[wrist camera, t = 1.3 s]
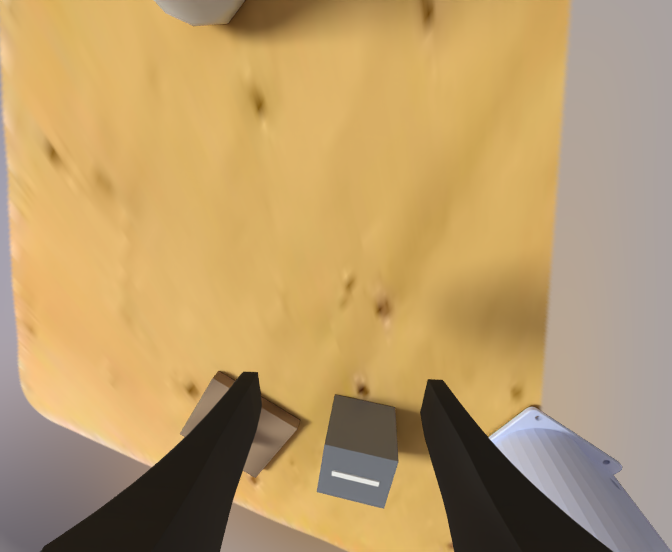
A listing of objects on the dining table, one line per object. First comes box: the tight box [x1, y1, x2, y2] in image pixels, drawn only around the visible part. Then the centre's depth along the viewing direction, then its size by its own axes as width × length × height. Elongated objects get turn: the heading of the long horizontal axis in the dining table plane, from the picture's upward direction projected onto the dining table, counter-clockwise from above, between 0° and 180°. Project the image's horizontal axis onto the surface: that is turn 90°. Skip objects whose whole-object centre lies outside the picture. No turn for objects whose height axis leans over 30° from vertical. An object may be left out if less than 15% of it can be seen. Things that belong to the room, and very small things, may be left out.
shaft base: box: [180, 371, 300, 478], centre depth 27 cm, size 9×9×4 cm
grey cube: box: [317, 395, 398, 509], centre depth 24 cm, size 5×5×5 cm
